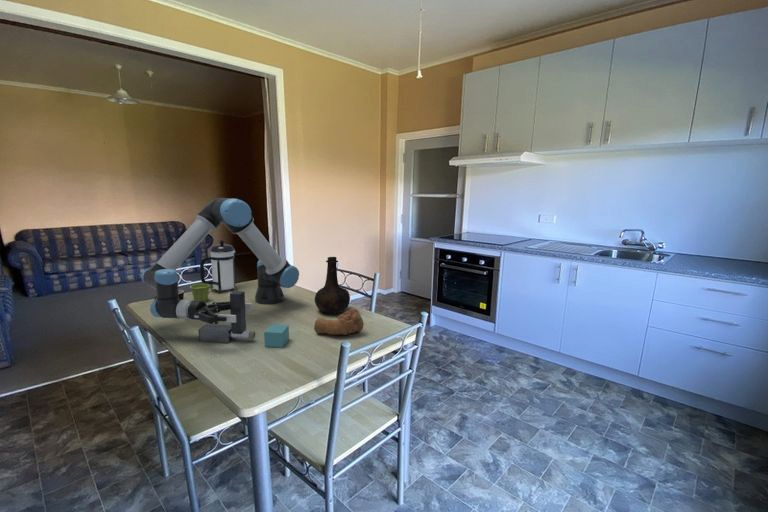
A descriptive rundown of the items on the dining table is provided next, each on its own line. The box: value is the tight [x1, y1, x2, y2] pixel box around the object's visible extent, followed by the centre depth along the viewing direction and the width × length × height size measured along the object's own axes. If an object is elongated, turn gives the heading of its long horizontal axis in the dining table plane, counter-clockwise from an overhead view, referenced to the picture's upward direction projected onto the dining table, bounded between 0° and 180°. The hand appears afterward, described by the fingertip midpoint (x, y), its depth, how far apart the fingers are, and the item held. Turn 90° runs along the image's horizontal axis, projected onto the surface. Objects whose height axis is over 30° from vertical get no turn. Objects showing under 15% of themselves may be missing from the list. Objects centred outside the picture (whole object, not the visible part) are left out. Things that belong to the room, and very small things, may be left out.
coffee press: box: [199, 239, 238, 294], centre depth 200 cm, size 17×16×30 cm
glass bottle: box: [314, 256, 351, 314], centre depth 173 cm, size 18×18×28 cm
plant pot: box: [189, 283, 211, 303], centre depth 182 cm, size 9×9×9 cm
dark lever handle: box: [229, 290, 256, 340], centre depth 137 cm, size 19×4×19 cm, turn 87°
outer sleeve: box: [197, 323, 235, 344], centre depth 139 cm, size 12×6×5 cm, turn 87°
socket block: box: [263, 324, 290, 348], centre depth 137 cm, size 7×8×6 cm
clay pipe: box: [313, 307, 365, 336], centre depth 149 cm, size 19×11×15 cm
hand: (244, 312), depth 136 cm, fingers open, 13 cm apart
